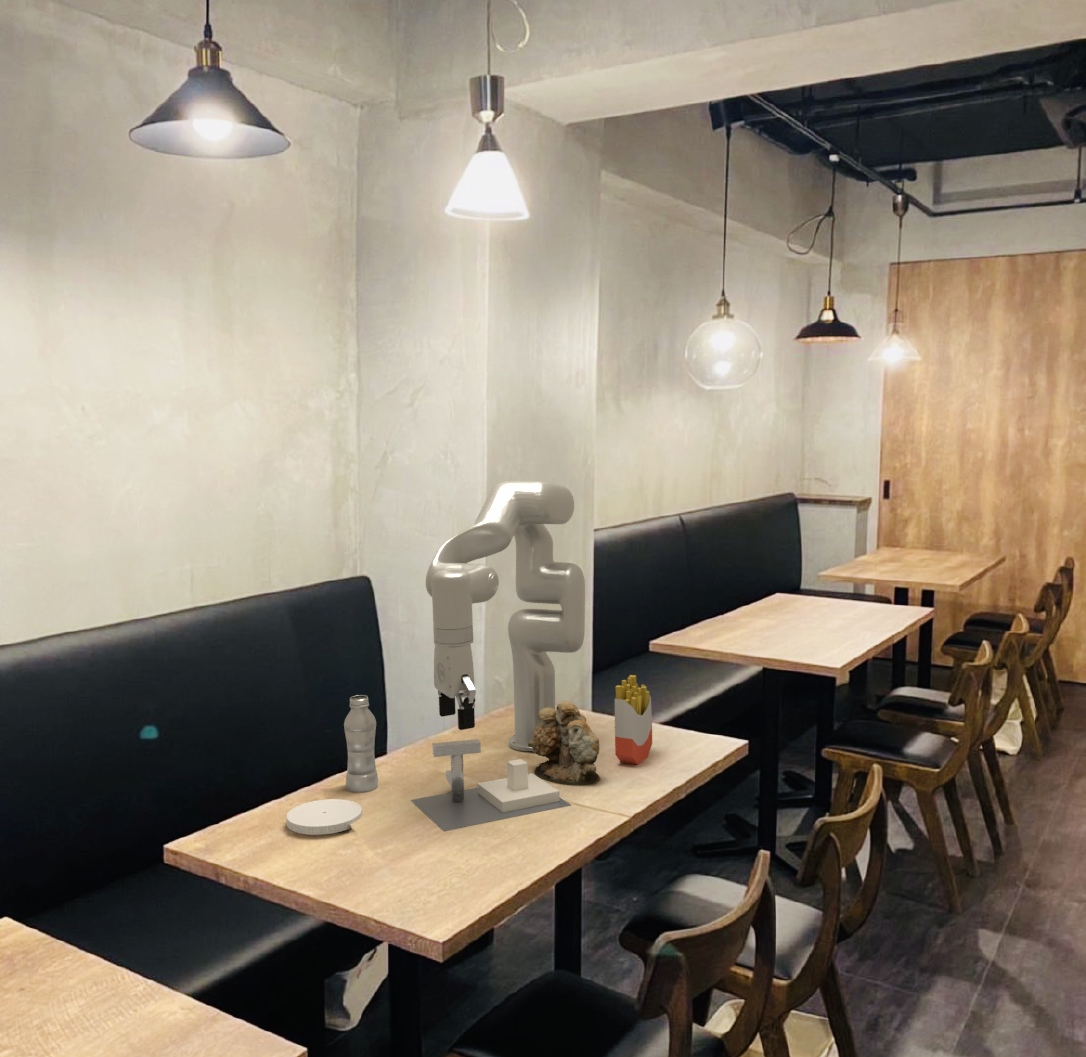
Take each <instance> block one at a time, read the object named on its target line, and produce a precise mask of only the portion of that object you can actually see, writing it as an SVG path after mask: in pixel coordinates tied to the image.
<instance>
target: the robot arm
mask: <svg viewBox="0 0 1086 1057" xmlns="http://www.w3.org/2000/svg"><path fill="white" fill-rule="evenodd" d="M574 500H575V499H574V496H573V493H572V492H571V490H570V489H569V488H567V487H566V486H564V485H560V484H556V483H552V482H547V481H540V480H505V481H501V482H498V483H497V484H495V485H494V486H493V487H492V488H491V490H490V492H489V494H488V496H487V498H486V499H485V501H484V504H483V506H482V507H481V510H480V512H479V513H478V515H477V517H476V519H475V522H474V523H473V524H472V525H470V526H468V527H467V528H465V529H463V530H461V531H459V532H458V533H457V534H455V535H453V536H452V537H450V538H449V539H448V540H446V541H445V542H444V543H443V544H441V545H440V547H439V548H438V550H437V551H436V553H435V555H434V557H433V558H432V560H431V563H430V565H429V566H428V570H427V572H426V577H425V589H426V591H427V594H428V595H429V596H430V597H431V598H432V602H431V604H432V622H433V624H432V625H433V644H434V652H433V685H434V688H435V689H436V690H437V695H438V712H439V716H440V717H449V716H454V715H456V714H457V729H458V730H459V731H464V730H469V729H474V728H475V726H476V723H475V722H476V721H475V720H476V719H475V708H476V704H475V702H476V693H477V692H476V688H475V673H474V672H475V670H474V669H475V668H474V661H473V659H474V658H473V651H472V645H471V644H473V643H474V626H473V624H474V623H473V620H474V619H473V604H477V603H478V604H479V603H485V602H487V601H490V600H491V599H493V597H494V596H495V595H496V594H497V593H498V592H497V591H498V589H499V576H498V573H497V571H496V570H495V569H494V568H493V567H492V566H490V565H487V564H483V563H470V562H473V561H476V560H480V559H483V558H487V557H490V556H493V555H495V554H499V553H501V552H503V551H504V550H507V548H508V547H509V546H510V544H511V542H512V540H513V538H514V541H515V592H516V595H517V597H518V599H520V600H521V601H522V602H525V603H533V604H545V605H546V604H549V605H559V606H560V607H561V610H560V609H559V610H558V609H546V608H545V609H543V608H524V609H519V610H517V611H515V612H514V613H512V615H511V616H510V618H509V620H508V624H507V633H508V638H509V644H510V647H511V655H512V668H513V669H512V670H513V671H512V672H513V673H512V674H513V704H514V705H513V714H514V716H513V717H514V735H511V736H510V737H509V738H508V746H509V748H511V749H514V750H517V751H520V750H521V751H520V752H527V751H533V748H532V747H529V746H528V742H530V741H533V740H534V739H533V735H534V732H535V731H536V727H537V726H538V724H539V720H538V718H539V717H538V714H539V711H540V710H541V709H544V708H553V709H554V710H556V673H555V666H554V664H553V661H552V660H551V658H550V656H549V655H548V654H547V652H548V653H549V652H550V653H565V654H566V653H567V654H568V653H569V654H570V653H571V654H573V653H577V652H578V651H579V650H580V649H581V648H582V646H583V644H584V638H585V628H586V625H585V623H586V620H585V619H586V615H585V614H586V582H585V581H586V580H585V576H584V572H583V570H582V568H581V567H580V566H579V565H578V564H576V563H573V562H562V561H560V562H559V561H558V562H556V561H554V540H553V537H552V535H551V533H550V531H549V530H548V528H547V527H546V525H564V524H567V523H568V522H569V521H570V520H571V518H572V517H573V514H574V511H575V501H574ZM462 698H464V700H463V699H462ZM456 701H457V704H458V705H457V706H458V707H459V708H456ZM456 709H457V713H456Z"/></svg>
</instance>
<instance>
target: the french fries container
mask: <svg viewBox="0 0 1086 1057" xmlns="http://www.w3.org/2000/svg"><path fill="white" fill-rule="evenodd" d="M640 686H641V687H639V684H638V683H637V675H636V674H634V675H633V674H630V675H629V676H628V677H627V680H626V679H623V680H621V685H619V684H618V685H616V686H615V698H614V743H615V744H614V746H615V747H614V752H615V753H614V754H615V756H616V757H617V759H618V760H619V762H620V763H625V764H631V763H632V765H640V764H641V763H642V762H643V761H645V760H646V759H648V757H649V754H650V752H651V749H652V745H653V718H652V713H653V712H652V697H651V695H650V691H649V690H647V688H648V686H646V685H645V684H641V685H640Z"/></svg>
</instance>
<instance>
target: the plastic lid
mask: <svg viewBox="0 0 1086 1057" xmlns="http://www.w3.org/2000/svg"><path fill="white" fill-rule="evenodd" d="M362 816H363V807H362V805H360V804H359V803H357V802H355V801H352V800H348V799H338V798H334V799H333V798H330V799H329V798H328V799H319V800H313V801H308V802H304V803H302V804H299V805H297V806H295V807H293V808H291V809H290V810H289V811H288V812H287V813H286V816H285V818H286V827H287V829H289V830H290V831H292V832H294V833H297V834H300V835H301V834H302V835H309V836H310V835H314V836H315V835H317V836H318V835H319V836H321V835H329V834H331V835H332V834H336V833H339V832H343V831H345V832H346V831H347V830H349V829H350V830H351V829H352V828H353V827H352V825H351V824H354V823H356V822H357V821H358V820H360V819H361V817H362Z"/></svg>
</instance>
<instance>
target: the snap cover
mask: <svg viewBox="0 0 1086 1057" xmlns="http://www.w3.org/2000/svg"><path fill="white" fill-rule="evenodd" d="M506 766H507V767H506V768H507V769H506V772H507V777H504V778H498V779H495V780H494V779H493V780H488V781H483V782H478V783H477V787H478V794H480V795H481V796H482V797H483V798H485V799H486V800H487V801H489V802H490V803H491V804H492V805H494V806H495V807H496V808H498V809H499V810H500V811H501V812H508V811H513V810H518V809H523V808H528V807H533V806H538V805H543V804H548V803H553V802H558V801H560V798H561V797H560V790H558V789H557V788H555V787H554V786H552V785H551V784H550V783H549V782H548V783H547V781H545V780H542V779H540V778H539V777H537V776H536V775H535V774H534V772H533V773H532V772H531V773H529V771H528V770H529V768H528V766H529V765H528V762H527V761H525V760H523V759H522V758H518V759H513V760H508V761H507V762H506ZM559 797H560V798H559Z"/></svg>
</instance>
